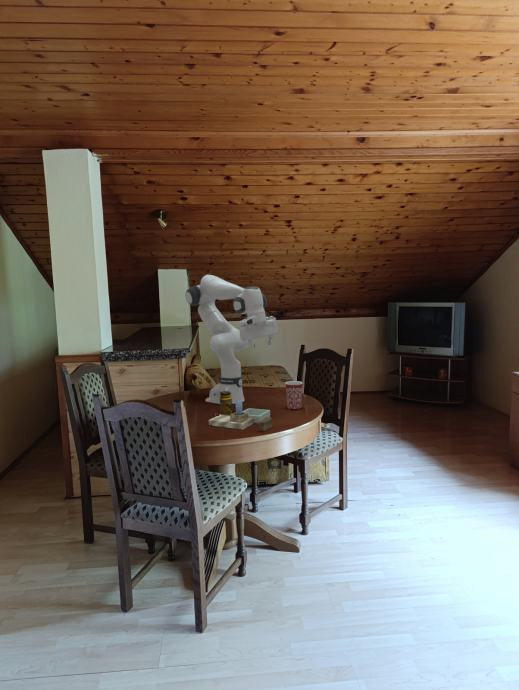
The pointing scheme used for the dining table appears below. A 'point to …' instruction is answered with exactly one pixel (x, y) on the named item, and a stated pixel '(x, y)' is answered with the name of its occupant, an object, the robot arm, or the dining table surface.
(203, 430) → the dining table surface
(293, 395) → the mug
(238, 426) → the board
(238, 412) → the dowel
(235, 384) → the robot arm
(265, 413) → the tray
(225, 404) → the condiment
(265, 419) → the block
